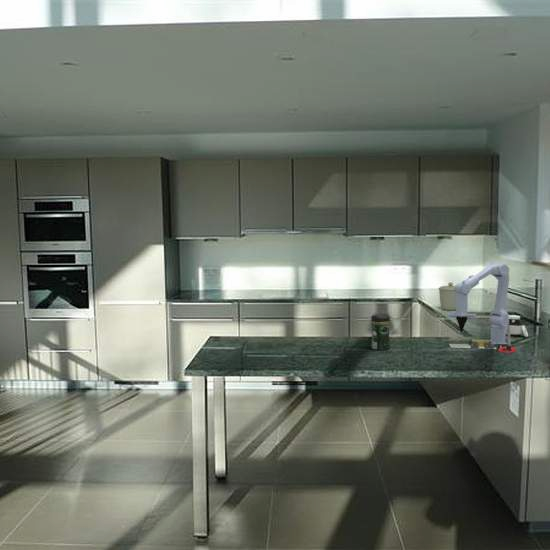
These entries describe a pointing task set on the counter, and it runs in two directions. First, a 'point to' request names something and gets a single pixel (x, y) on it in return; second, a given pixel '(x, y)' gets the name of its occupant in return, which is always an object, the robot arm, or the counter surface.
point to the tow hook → (508, 344)
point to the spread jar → (516, 326)
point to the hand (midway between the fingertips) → (461, 330)
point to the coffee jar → (380, 332)
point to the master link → (480, 342)
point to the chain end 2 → (490, 345)
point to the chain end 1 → (474, 344)
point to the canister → (447, 297)
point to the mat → (464, 346)
